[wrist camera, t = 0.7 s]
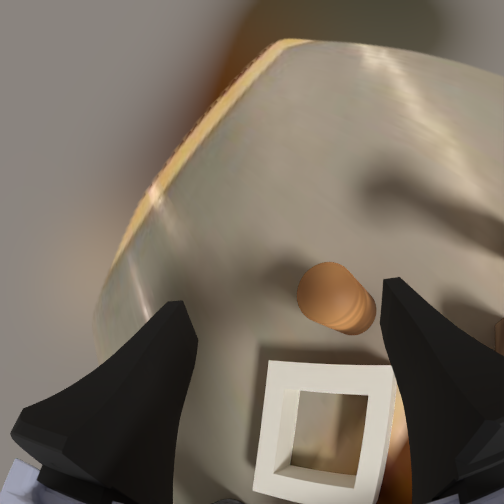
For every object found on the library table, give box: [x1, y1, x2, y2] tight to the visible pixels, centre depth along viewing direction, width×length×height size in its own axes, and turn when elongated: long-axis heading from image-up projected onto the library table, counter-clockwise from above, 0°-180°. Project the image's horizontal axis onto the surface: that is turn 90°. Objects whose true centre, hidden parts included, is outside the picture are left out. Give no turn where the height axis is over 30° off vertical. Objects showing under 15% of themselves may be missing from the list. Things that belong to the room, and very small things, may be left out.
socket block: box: [253, 360, 397, 504], centre depth 23 cm, size 13×11×4 cm
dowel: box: [297, 262, 376, 335], centre depth 25 cm, size 4×4×8 cm
